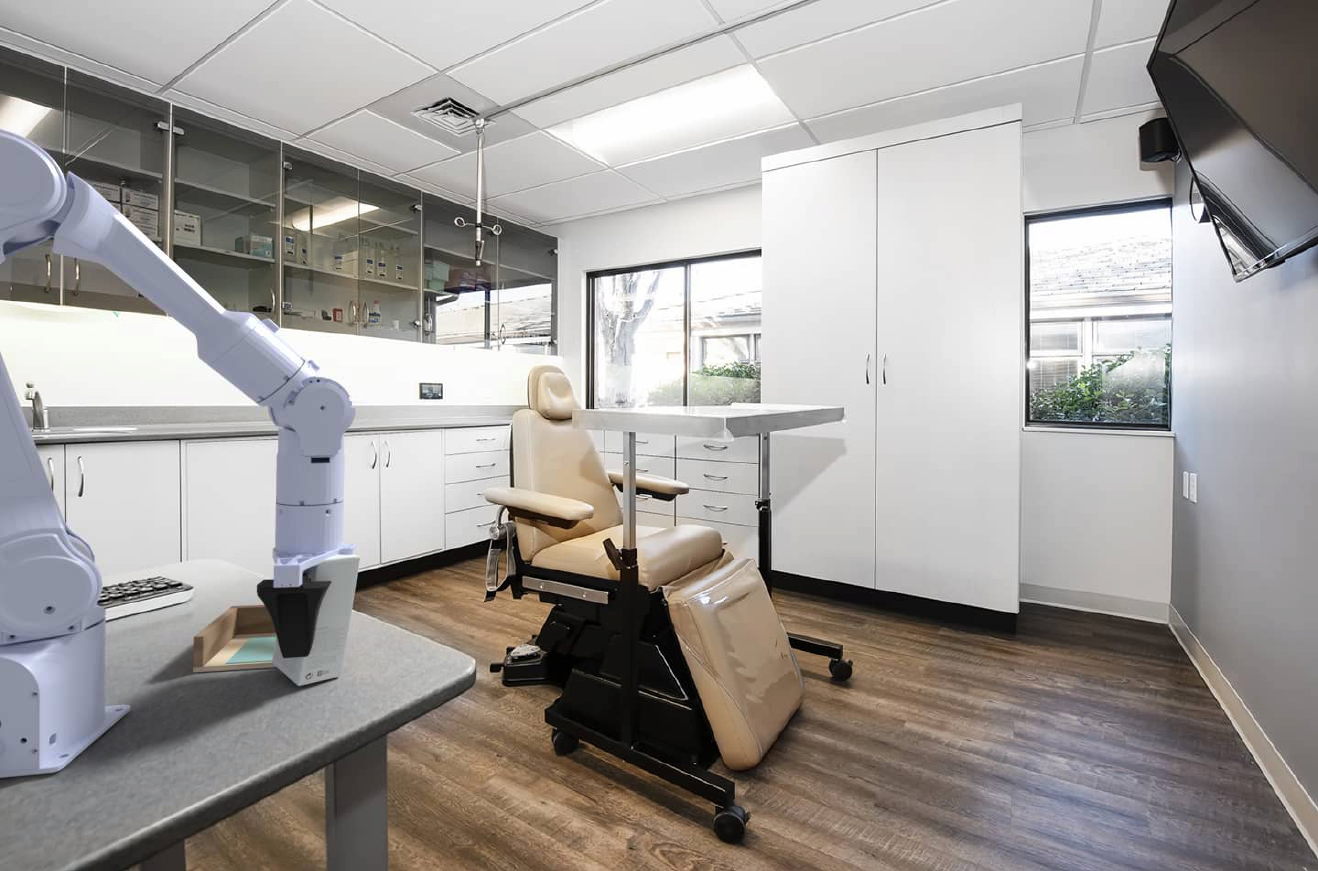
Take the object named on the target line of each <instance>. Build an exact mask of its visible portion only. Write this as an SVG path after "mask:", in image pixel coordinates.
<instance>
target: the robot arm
mask: <svg viewBox="0 0 1318 871" xmlns="http://www.w3.org/2000/svg"><path fill="white" fill-rule="evenodd" d="M50 238H53V244H52V246H53V247H52V253H53V254H57V255H60V256H65V257H70V258H74V259H78V260H81V261H82V260H83V261H87V262H92V263H97V264H100V265H102V266H103V267H105V268H106V269H107V270H109V271H110V272H112V274H114V275H115V276H116V277H118V278H119V279H121V280H122V281H123V282H125V283H126V284H127V285H129V286H130V287H131V288H133V289H134V290H135V291H137V292H138V293H140V294H141V295H142V296H144V298H146V300H148V301H150V302H151V303H153V305H155V306H157V307H158V308H159V309H160V310H162V311H163V312H165V313H166V314H167V315H168V316H170V317H171V318H172V319H173V320H175V321H176V322H177V323H179V324H180V325H182V327H184V328H185V329H187V330H188V331H189V332H191V333H192V334H193V335H194V336H195V338H196V339H195V341H196V345H197V346H196V348H197V357H198V359H200V360H201V361H202V362H203V363H205V364H206V365H207V366H208V367H210V369H212V370H214V372H216V373H218V374H219V375H220V376H221V377H223V379H225V380H226V381H228V383H230V384H232V385H233V386H234V387H235V388H237V389H238V390H239V391H241V392H242V394H244V395H245V396H246V397H248V398H249V399H250V400H252V401H253V402H254V403H255V404H257V405H258V406H259V407H261V408H262V407H263V408H264V407H267V412H268V415H269V417H270V420H271V422H272V423H273V424H274V426H276V427H279V428H277V430H278V431H277V432H278V433H277V434H278V437H277V438H278V439H277V440H278V442H277V453H276V469H275V470H276V478H275V480H276V485H275V487H276V488H275V532H274V533H275V535H274V536H275V538H274V539H275V540H274V541H275V542H274V548H272V559H273V562H274V564H275V565H273V578H272V579H268V578H267V579H263V580H261V581H260V582H259V583H258V584H257V585H256V594H257V598H259V600H260V601H261V602H262V604H263V605H265V607H266V608H267V610H268V612H269V614H270V616H271V619H272V621H273V624H274V628H275V631H276V635H277V639H278V643H279V647H280V651H281V654H282V656H283V658H296V657H307V656H308V655H309V654H310V651H311V648H312V645H313V641H314V635H315V629H316V623H317V617H318V613H319V609H320V606H321V603H322V600H323V598H324V596H325V593H326V591H327V590H328V588H329V586H330V584H331V583H332V581H314V582H311V578H309V579H308V573H306V570H307V569H308V568H311V567H313V566H316V565H319V564H321V563H322V562H323V560H325V559H327V558H330V557H332V556H335V555H338V554H347V555H351V554H355V552H356V551H357V545H356V544H355V543H345V542H344V507H345V506H344V505H345V504H344V502H345V501H344V499H345V490H344V489H345V458H346V457H345V433H346V431H347V430H349V428H350V427H351V425H352V424H353V422H354V420H355V417H356V414H357V408H356V407H354V406H353V401H352V400H350V397H351V396H350V394H349V392H348V391H347V390H346V388H345V387H344V386H343V385H341V384H340V383H339V382H338V381H336V380H335V379H334V380H333V379H331V378H327V377H323V376H317V375H318V372H319V370H320V369H321V366H320V365H319V364H318V363H317V362H316V361H315V360H314V359H309V360H306V359H305V358H304V357H303V356H301V355H300V354H299V353H298V352H297V351H296V350H295V349H293V348H292V347H291V346H290V345H289V344H288V343H287V342H285V340H283V339H282V338H281V337H280V336H279V335H278V334H276V333H277V332H278V331H279V330H280V327H279V326H278V325H277V324H276V323H274V321H273V320H271V318H264V319H262V320H261V319H259V318H258V317H257V316H256V315H255V314H253V313H252V312H249V311H248V312H245V311H230V310H227V309H225V308H224V306H222V305H221V304H220V303H219V302H218V301H217V300H216V299H215V298H213V296H211V295H210V294H209V293H208V292H207V291H206V290H205V289H204V288H203V287H202V286H200V284H198V283H197V282H196V281H195V280H194V279H193V278H192V277H191V276H190V275H189V274H188V273H186V272H185V271H184V270H183V268H182V267H180V266H179V265H178V264H177V263H176V262H175V261H173V259H171V258H170V257H169V256H168V255H167V254H166V253H165V252H164V251H163V250H161V248H159V246H157V245H156V244H155V243H154V242H153V241H152V240H151V239H150V238H149V237H147V236H146V234H144V233H143V232H142V231H141V230H140V229H139V228H138V227H137V226H136V225H135V224H133V223H132V222H131V221H130V220H129V219H128V218H127V217H126V216H125V215H124V214H123V213H121V211H119V210H118V209H117V208H115V206H114V205H113V204H111V203H110V202H109V200H107V199H106V198H105V197H103V195H101V194H100V193H99V192H98V191H97V190H96V189H95V188H94V187H93V186H92V185H90V184H89V183H88V182H86V181H85V180H83V179H82V178H80V177H79V176H77V175H75V173H73V172H71V171H70V170H68V171H67V177H66V178H65V176H64V173H63V172H62V169H61V168H60V166H59V164H57V162H56V161H55V159H54V158H53V157H52V156H50V154H49V153H48V152H47V151H46V150H44V149H43V148H42V147H41V146H39V145H38V144H36V143H35V142H33V141H31V140H30V139H28V138H26V137H24V136H22V135H19V134H17V133H15V132H12V131H8V130H5V129H2V128H1V129H0V265H1V264H2V263H4V262H5V261H6V260H7V257H9V256H11V255H14V254H15V253H16V254H17V253H18V252H21V251H24V250H27V249H29V248H30V247H34V246H37V245H38V244H41V243H43V242H44V241H46V240H49V239H50ZM4 360H5V359H4V358H3V356H2V353H1V352H0V779H1V778H3V779H4V778H12V777H22V776H33V775H42V774H43V775H44V774H45V775H46V774H53V773H56V772H59V771H61V770H62V769H64V768H65V767H66V766H68V764H69V763H71V762H72V761H73V760H74V759H75V758H76V757H77V756H79V755H80V754H82V753H83V751H84V750H86V749H87V748H88V747H89V746H90V745H92V744H93V743H94V742H95V741H96V740H97V739H99V738H100V737H101V736H102V735H103V734H104V733H106V732H107V731H108V730H109V729H110V728H112V726H114V724H116V723H117V722H118V721H120V719H122V718H123V717H124V716H125V715H126V714H127V713H129V712H130V710H131V705H130V704H115V705H114V704H113V705H106V632H107V631H106V630H107V629H106V626H107V624H106V621H107V620H106V615H107V614H106V612H107V611H106V609H105V607H103V606H101V605H98V602H99V600H100V598H101V594H102V592H103V578H102V575H101V571H100V570H99V568H98V566H97V565H96V558H95V557H96V556H95V553H94V551H93V549H92V547H91V545H90V544H89V543H88V542H87V541H86V540H85V539H84V538H82V537H81V536H80V535H78V534H77V533H75V532H74V531H73V530H72V529H71V528H70V527H69V525H68V524H67V523H66V521H65V518H64V516H63V514H62V513H63V512H62V510H61V508H60V506H59V503H58V501H57V499H56V498H57V497H56V496H55V494H54V491H53V489H52V486H51V483H50V481H49V478H48V476H47V473H46V470H45V467H44V465H43V461H42V459H41V457H40V455H39V451H38V449H37V445H36V443H35V441H34V438H33V435H32V433H31V430H30V427H29V425H28V422H27V419H26V417H25V414H24V411H23V409H22V406H21V404H20V401H19V398H18V396H17V392H16V390H15V388H14V385H13V382H12V380H11V377H10V374H9V372H8V369H7V366H6V364H5V361H4Z"/></svg>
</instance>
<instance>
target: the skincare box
mask: <svg viewBox="0 0 1318 871" xmlns="http://www.w3.org/2000/svg"><path fill="white" fill-rule="evenodd" d="M360 562H361V557H360V556H359V555H357V554H355V553H353V554H351V555H347V554H338V555H335V556H332V557H330V558H327V559H325V560H323V562H322V563H321V564H319V565H316V566H313V567H311V568H308V569H307V570H306V573H308V579H309V578H311V582H314V581H332V583H331V584H330V586H329V588H328V590H327V591H326V593H325V596H324V598H323V600H322V603H321V606H320V609H319V613H318V617H317V623H316V629H315V635H314V641H313V645H312V648H311V651H310V654H309V655H308V656H307V657H296V658H283V656H282V654H281V651H280V647H279V643H278V639H277V635H276V641H275V647H274V653H273V659H272V663H273V664H274V665H275V666H276V667H275V668H277V669H279V670H280V671H281V672H282V673H283V674H284V675H285V676H286V677H287V678H289V679H290V680H291V681H292V682H293V683H294V684H295V685H296V686H299V687H302V686H304V685H309V684H313V683H317V682H322V681H325V680H330V679H334V678H338V677H341V676H342V674H343V670H344V664H345V663H344V662H345V657H346V651H347V644H348V638H349V631H350V624H351V618H352V613H353V605H354V600H355V593H356V587H357V581H358V580H357V579H358V573H359V567H360Z"/></svg>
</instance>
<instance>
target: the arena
mask: <svg viewBox="0 0 1318 871" xmlns="http://www.w3.org/2000/svg"><path fill="white" fill-rule="evenodd" d="M275 641H276V631H275V628H274V624H273V621H272V619H271V616H270V614H269V612H268V610H267V608H266V607H265V605H264V604H252V605H249V604H248V605H232V606H230V607H229V608H228V609H226V611H224V612H223V613H221V614H220V615H219V616H218V617H216V618H215V619H214V620H213V621H211V622H210V623H209V624H208V625H207V626H205V627H204V628H203V629H202V630H201V631H199V632H198V633H196V634H195V635H194V636H193V656H192V657H193V664H192V665H193V666H192V668H193V669H192V671H193V673H206V672H219V671H236V670H253V669H267V668H270V669H271V668H277V667H276V666H275V665H274V664H273V663H272V659H273V653H274V647H275Z"/></svg>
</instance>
